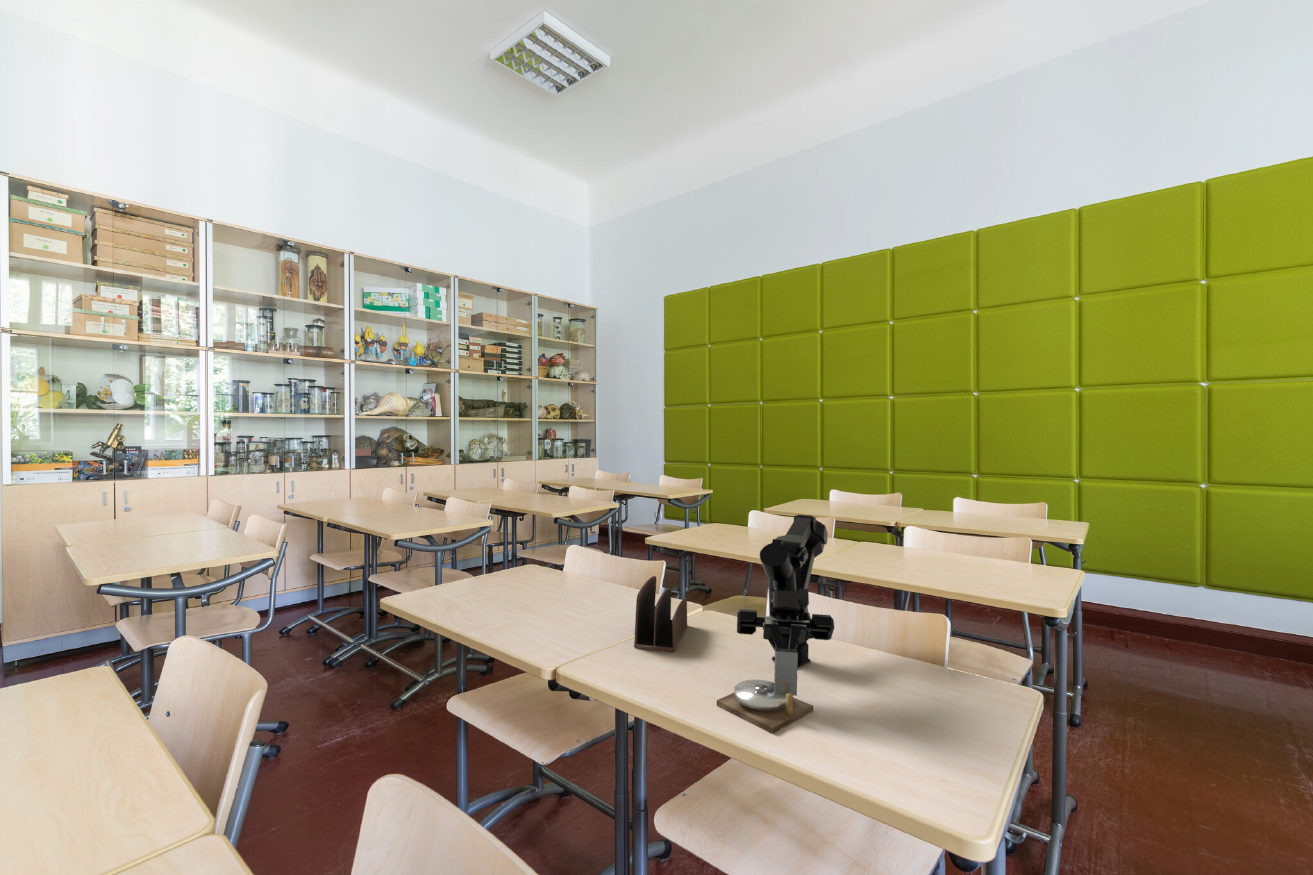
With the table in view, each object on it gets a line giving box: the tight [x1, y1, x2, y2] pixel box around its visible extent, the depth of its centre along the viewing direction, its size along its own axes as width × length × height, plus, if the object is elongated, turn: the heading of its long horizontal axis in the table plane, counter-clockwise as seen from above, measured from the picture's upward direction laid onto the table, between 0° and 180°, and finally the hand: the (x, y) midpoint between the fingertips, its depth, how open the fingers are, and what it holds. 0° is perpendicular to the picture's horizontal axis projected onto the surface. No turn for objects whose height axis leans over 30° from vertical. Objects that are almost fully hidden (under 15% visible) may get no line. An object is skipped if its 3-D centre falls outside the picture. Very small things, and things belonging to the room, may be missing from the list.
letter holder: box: [633, 575, 688, 653], centre depth 141 cm, size 10×20×14 cm, turn 168°
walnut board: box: [716, 692, 814, 734], centre depth 104 cm, size 13×13×5 cm
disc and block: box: [733, 648, 798, 711], centre depth 104 cm, size 12×10×9 cm
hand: (785, 666), depth 104 cm, fingers closed, pressing on disc and block
